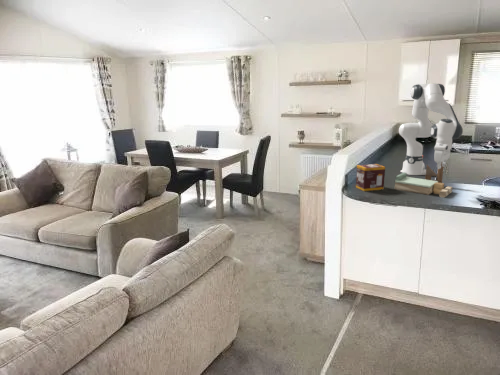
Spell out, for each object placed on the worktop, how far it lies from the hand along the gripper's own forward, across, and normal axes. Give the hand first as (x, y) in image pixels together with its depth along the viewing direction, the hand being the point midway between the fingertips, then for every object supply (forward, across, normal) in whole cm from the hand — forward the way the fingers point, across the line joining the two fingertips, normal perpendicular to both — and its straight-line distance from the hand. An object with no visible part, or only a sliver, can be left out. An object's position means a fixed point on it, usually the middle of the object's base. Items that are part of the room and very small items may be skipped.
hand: (441, 167), depth 246 cm
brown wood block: (+17, 0, 0) cm, 17 cm away
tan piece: (+17, 0, -10) cm, 20 cm away
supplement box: (+17, +16, -40) cm, 46 cm away
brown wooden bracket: (+17, -17, -8) cm, 26 cm away
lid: (+12, 0, -14) cm, 19 cm away
